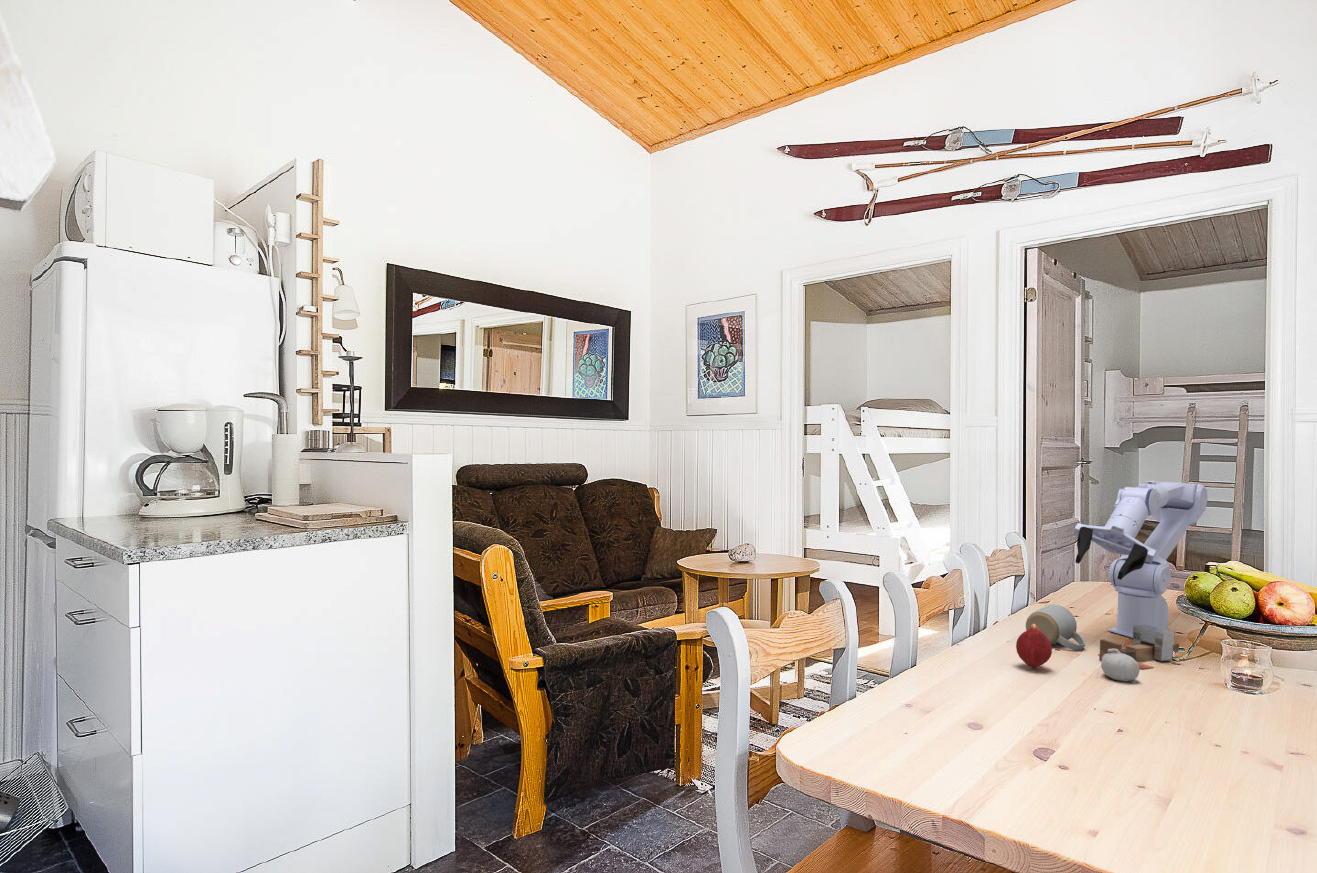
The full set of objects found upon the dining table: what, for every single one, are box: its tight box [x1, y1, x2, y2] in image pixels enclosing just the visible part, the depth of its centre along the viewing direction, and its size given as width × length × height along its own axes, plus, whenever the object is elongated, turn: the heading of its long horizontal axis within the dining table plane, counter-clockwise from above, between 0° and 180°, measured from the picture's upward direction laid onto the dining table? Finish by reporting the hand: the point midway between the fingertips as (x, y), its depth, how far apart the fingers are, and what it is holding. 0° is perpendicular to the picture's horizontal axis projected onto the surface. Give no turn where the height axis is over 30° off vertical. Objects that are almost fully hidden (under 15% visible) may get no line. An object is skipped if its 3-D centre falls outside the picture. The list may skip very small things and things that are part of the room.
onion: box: [1015, 624, 1053, 670], centre depth 137 cm, size 6×6×8 cm
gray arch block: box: [1132, 624, 1175, 662], centre depth 146 cm, size 3×6×5 cm, turn 22°
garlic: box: [1100, 649, 1140, 682], centre depth 133 cm, size 6×5×5 cm
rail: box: [1097, 638, 1180, 670], centre depth 145 cm, size 18×9×4 cm, turn 112°
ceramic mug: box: [1025, 603, 1086, 652], centre depth 154 cm, size 10×8×7 cm
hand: (1098, 567), depth 150 cm, fingers open, 7 cm apart
